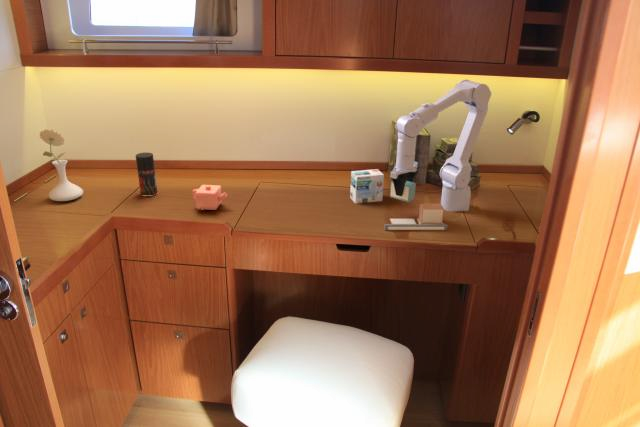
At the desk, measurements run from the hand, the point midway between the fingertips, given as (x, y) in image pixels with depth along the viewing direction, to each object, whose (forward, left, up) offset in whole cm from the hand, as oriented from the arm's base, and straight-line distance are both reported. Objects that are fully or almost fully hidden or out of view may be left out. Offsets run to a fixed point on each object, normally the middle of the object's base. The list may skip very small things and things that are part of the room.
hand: (402, 193), depth 171 cm
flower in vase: (+119, -18, -9) cm, 121 cm away
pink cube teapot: (+65, -9, -9) cm, 66 cm away
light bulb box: (+10, -16, -9) cm, 21 cm away
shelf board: (-3, +2, -9) cm, 10 cm away
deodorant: (+90, -22, -9) cm, 93 cm away
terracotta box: (-9, +4, -8) cm, 13 cm away
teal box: (0, 0, -2) cm, 2 cm away
